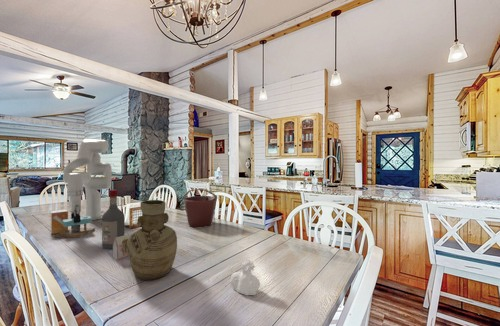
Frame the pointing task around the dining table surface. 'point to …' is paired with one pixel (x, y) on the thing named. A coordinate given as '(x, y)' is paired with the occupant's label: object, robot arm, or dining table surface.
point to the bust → (245, 279)
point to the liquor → (112, 222)
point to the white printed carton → (119, 247)
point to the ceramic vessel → (151, 242)
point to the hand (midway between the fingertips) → (75, 221)
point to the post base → (75, 232)
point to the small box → (58, 221)
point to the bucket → (200, 209)
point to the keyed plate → (71, 223)
